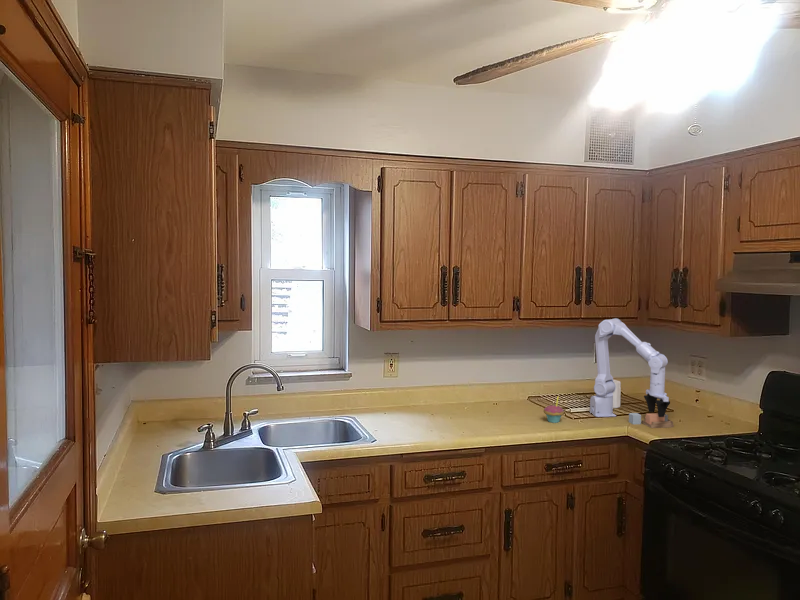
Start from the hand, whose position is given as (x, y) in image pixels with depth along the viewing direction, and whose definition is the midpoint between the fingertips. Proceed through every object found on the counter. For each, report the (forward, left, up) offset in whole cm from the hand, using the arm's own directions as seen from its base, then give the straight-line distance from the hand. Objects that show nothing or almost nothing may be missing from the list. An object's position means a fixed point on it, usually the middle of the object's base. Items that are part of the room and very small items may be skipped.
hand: (656, 414), depth 252 cm
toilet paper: (-4, +34, -5) cm, 35 cm away
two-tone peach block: (0, 0, -4) cm, 4 cm away
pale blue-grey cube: (-7, +4, -5) cm, 10 cm away
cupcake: (-41, +10, -5) cm, 43 cm away
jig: (+1, 0, -5) cm, 5 cm away
